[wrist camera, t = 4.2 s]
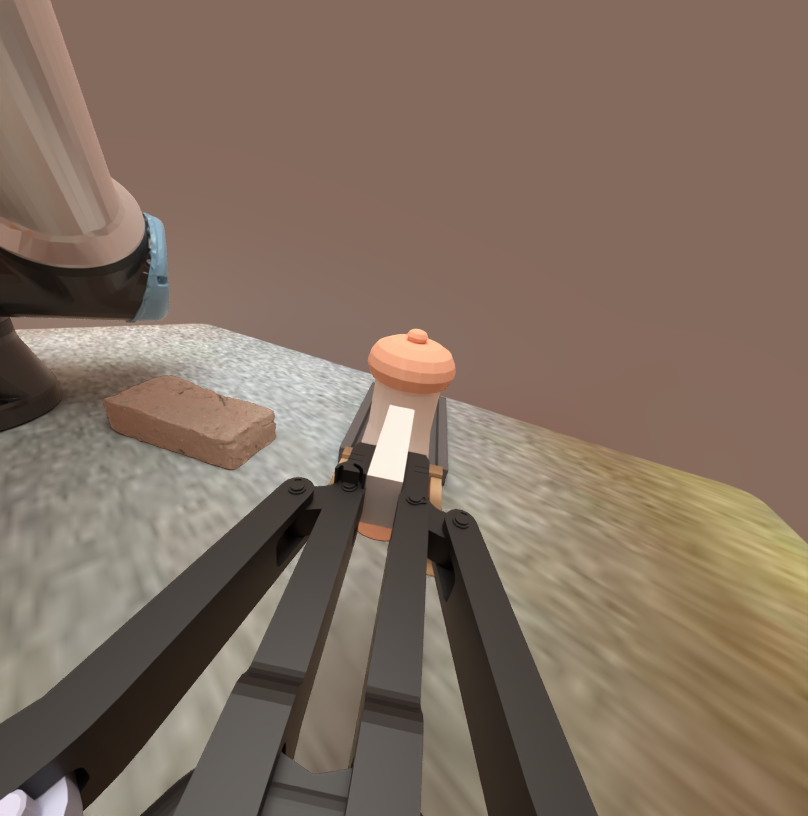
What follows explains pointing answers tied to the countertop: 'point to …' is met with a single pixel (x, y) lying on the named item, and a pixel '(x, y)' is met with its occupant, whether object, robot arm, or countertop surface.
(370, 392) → the grey tray
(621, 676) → the countertop surface
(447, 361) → the salt shaker
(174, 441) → the brick
